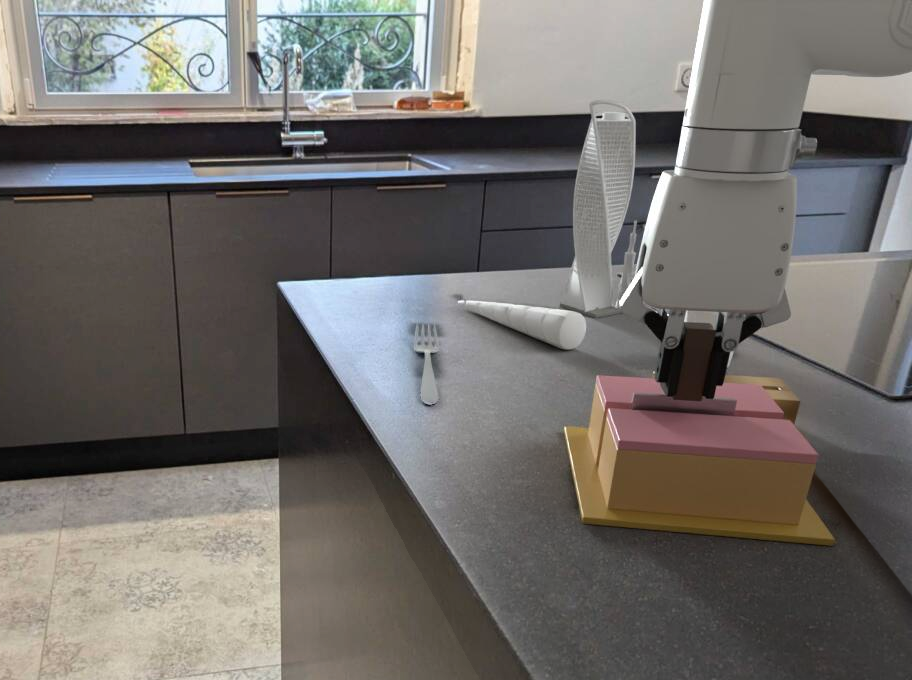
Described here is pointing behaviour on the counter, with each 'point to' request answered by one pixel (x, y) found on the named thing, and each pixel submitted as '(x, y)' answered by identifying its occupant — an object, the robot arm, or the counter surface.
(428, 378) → the fork
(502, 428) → the counter surface
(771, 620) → the counter surface
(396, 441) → the counter surface
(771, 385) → the knife stand
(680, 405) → the knife
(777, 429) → the cake
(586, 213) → the skyscraper
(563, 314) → the unicorn horn
